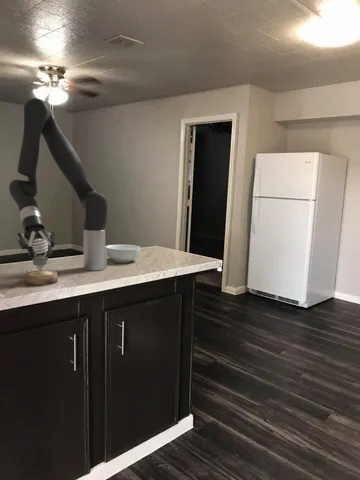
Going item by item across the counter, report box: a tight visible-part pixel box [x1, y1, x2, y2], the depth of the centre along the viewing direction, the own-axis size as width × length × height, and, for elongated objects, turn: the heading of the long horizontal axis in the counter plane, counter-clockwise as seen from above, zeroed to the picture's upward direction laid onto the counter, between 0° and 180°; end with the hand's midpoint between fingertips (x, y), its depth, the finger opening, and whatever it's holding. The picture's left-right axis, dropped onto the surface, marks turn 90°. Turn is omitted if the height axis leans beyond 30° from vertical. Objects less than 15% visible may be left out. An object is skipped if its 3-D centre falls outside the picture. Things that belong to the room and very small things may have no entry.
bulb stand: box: [22, 269, 58, 287], centre depth 147 cm, size 12×12×3 cm
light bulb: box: [31, 239, 49, 271], centre depth 146 cm, size 6×6×12 cm
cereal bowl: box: [105, 244, 141, 263], centre depth 190 cm, size 17×17×7 cm
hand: (41, 256), depth 145 cm, fingers closed on light bulb, 5 cm apart
